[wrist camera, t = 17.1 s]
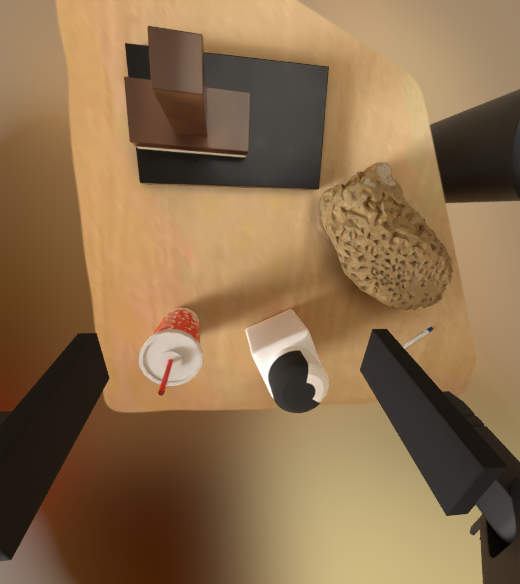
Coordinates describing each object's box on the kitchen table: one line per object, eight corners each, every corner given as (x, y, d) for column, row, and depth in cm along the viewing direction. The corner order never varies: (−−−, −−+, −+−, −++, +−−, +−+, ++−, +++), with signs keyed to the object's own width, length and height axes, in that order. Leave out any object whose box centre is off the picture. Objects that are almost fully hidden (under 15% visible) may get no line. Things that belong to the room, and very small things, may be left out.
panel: (323, 73, 29) (329, 66, 27) (314, 190, 32) (319, 189, 31) (129, 51, 26) (124, 42, 24) (143, 184, 29) (139, 182, 28)
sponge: (297, 209, 34) (367, 337, 37) (326, 187, 26) (411, 351, 29) (374, 165, 36) (435, 288, 39) (421, 133, 29) (492, 289, 31)
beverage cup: (202, 299, 34) (194, 355, 21) (207, 341, 36) (203, 416, 23) (153, 304, 33) (113, 365, 20) (161, 347, 35) (129, 429, 22)
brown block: (247, 104, 27) (271, 23, 15) (245, 157, 29) (266, 120, 17) (134, 91, 25) (64, -13, 14) (138, 148, 27) (78, 100, 15)
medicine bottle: (263, 367, 39) (283, 432, 27) (244, 327, 36) (258, 381, 25) (307, 348, 39) (344, 404, 28) (291, 307, 37) (326, 350, 25)
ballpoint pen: (376, 366, 42) (380, 370, 41) (374, 362, 42) (378, 366, 41) (431, 328, 42) (436, 330, 41) (429, 324, 42) (433, 326, 41)
